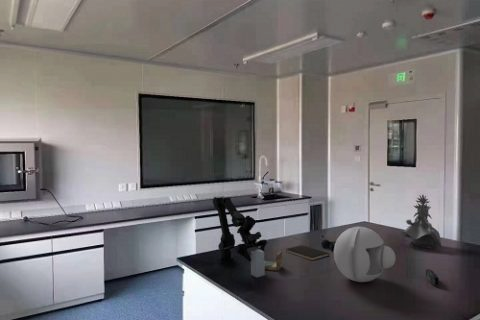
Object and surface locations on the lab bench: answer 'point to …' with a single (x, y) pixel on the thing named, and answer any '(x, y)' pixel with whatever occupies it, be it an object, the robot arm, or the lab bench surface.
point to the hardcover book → (307, 252)
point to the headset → (328, 244)
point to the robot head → (362, 254)
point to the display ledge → (275, 263)
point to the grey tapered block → (257, 263)
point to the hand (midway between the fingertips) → (257, 259)
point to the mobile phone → (432, 277)
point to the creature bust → (422, 227)
